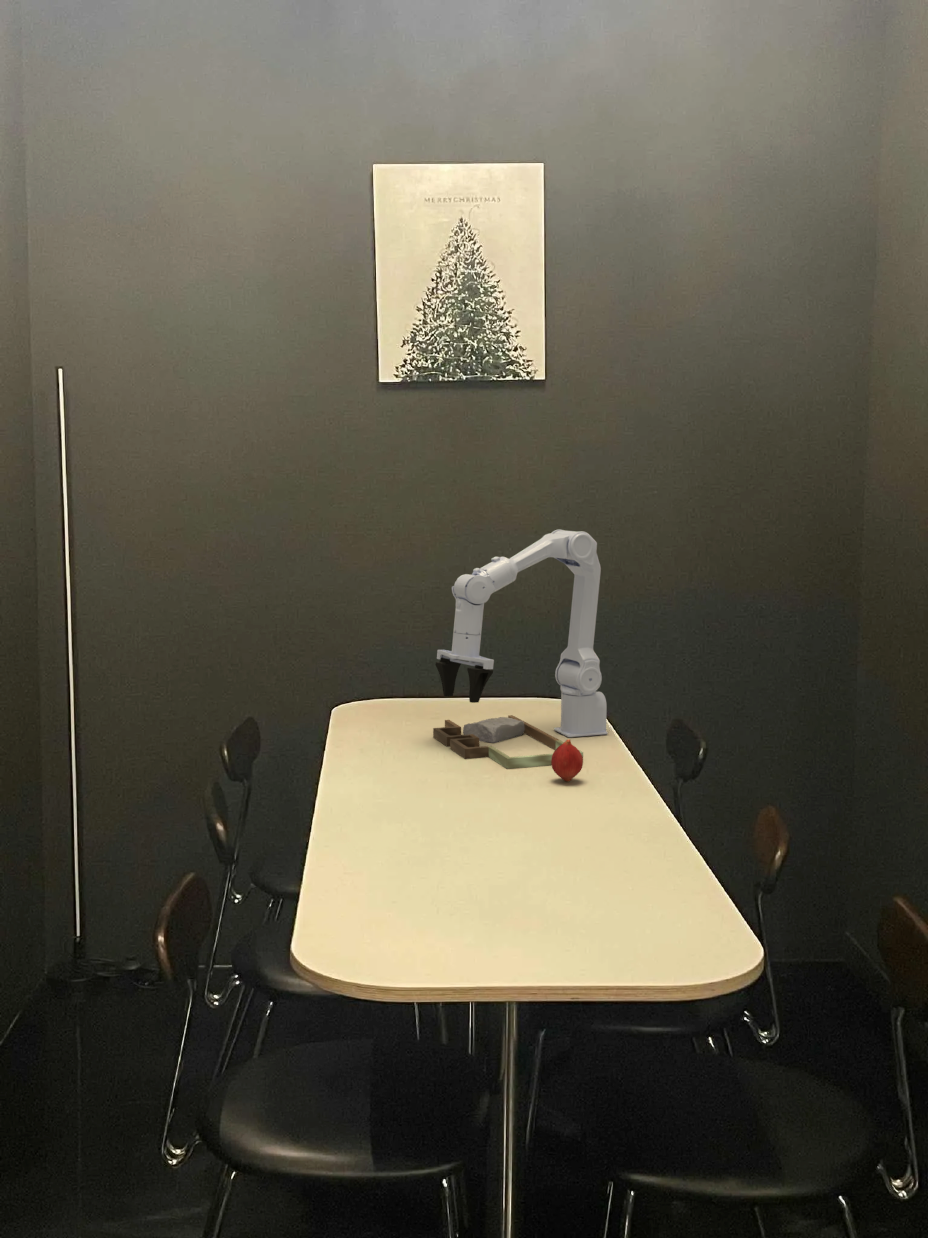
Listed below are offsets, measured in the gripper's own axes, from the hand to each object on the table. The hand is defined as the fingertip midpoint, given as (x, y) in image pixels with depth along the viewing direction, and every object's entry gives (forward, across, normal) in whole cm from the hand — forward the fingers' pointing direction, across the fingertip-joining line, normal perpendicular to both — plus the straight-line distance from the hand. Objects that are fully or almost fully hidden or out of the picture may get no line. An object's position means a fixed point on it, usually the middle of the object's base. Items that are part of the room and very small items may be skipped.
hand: (461, 699), depth 247 cm
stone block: (+9, -3, +13) cm, 16 cm away
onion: (+10, +33, -4) cm, 35 cm away
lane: (+9, +5, +8) cm, 13 cm away
